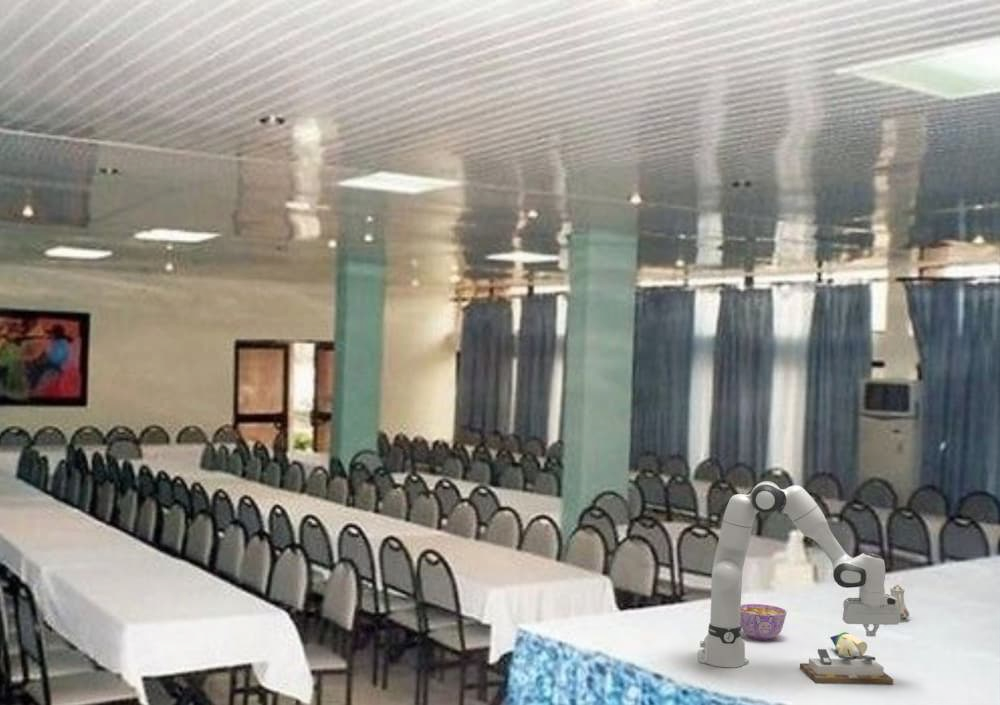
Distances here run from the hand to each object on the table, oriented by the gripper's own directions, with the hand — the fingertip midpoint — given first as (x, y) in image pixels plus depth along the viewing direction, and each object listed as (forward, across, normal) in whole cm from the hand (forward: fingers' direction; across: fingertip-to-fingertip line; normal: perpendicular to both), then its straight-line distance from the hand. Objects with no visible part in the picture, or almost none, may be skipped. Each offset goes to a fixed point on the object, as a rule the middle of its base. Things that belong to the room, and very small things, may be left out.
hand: (870, 636), depth 405 cm
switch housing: (+13, -8, +2) cm, 16 cm away
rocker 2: (+8, -8, +2) cm, 12 cm away
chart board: (+15, -8, +2) cm, 17 cm away
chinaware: (+16, +45, +92) cm, 104 cm away
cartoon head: (+16, +3, +31) cm, 35 cm away
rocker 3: (+8, 0, +2) cm, 9 cm away
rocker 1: (+8, -16, +2) cm, 18 cm away
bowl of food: (+15, -24, +55) cm, 62 cm away
